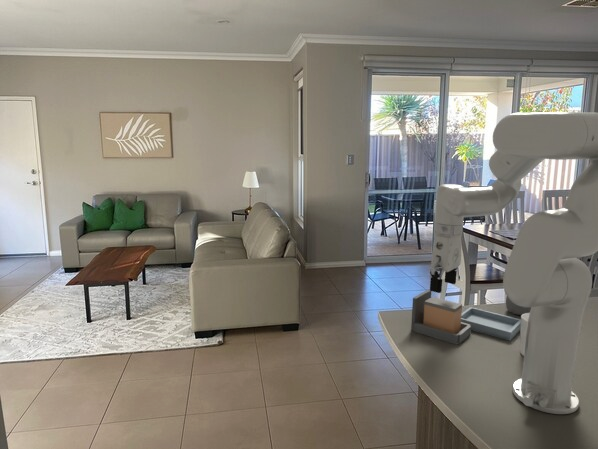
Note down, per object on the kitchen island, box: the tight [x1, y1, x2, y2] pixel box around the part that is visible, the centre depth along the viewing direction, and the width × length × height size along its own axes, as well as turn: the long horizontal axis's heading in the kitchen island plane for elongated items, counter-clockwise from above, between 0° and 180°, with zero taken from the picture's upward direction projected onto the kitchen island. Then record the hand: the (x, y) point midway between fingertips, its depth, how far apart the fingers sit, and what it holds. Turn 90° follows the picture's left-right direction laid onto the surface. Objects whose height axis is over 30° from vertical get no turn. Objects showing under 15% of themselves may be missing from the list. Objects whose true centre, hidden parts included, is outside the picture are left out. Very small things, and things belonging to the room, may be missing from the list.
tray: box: [461, 306, 521, 341], centre depth 132 cm, size 12×16×2 cm
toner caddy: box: [423, 296, 463, 334], centre depth 128 cm, size 5×9×9 cm, turn 48°
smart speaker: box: [505, 296, 532, 317], centre depth 142 cm, size 10×9×14 cm
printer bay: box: [410, 288, 472, 345], centre depth 128 cm, size 10×14×10 cm
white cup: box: [519, 313, 530, 357], centre depth 114 cm, size 8×8×10 cm
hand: (442, 287), depth 127 cm, fingers open, 9 cm apart
